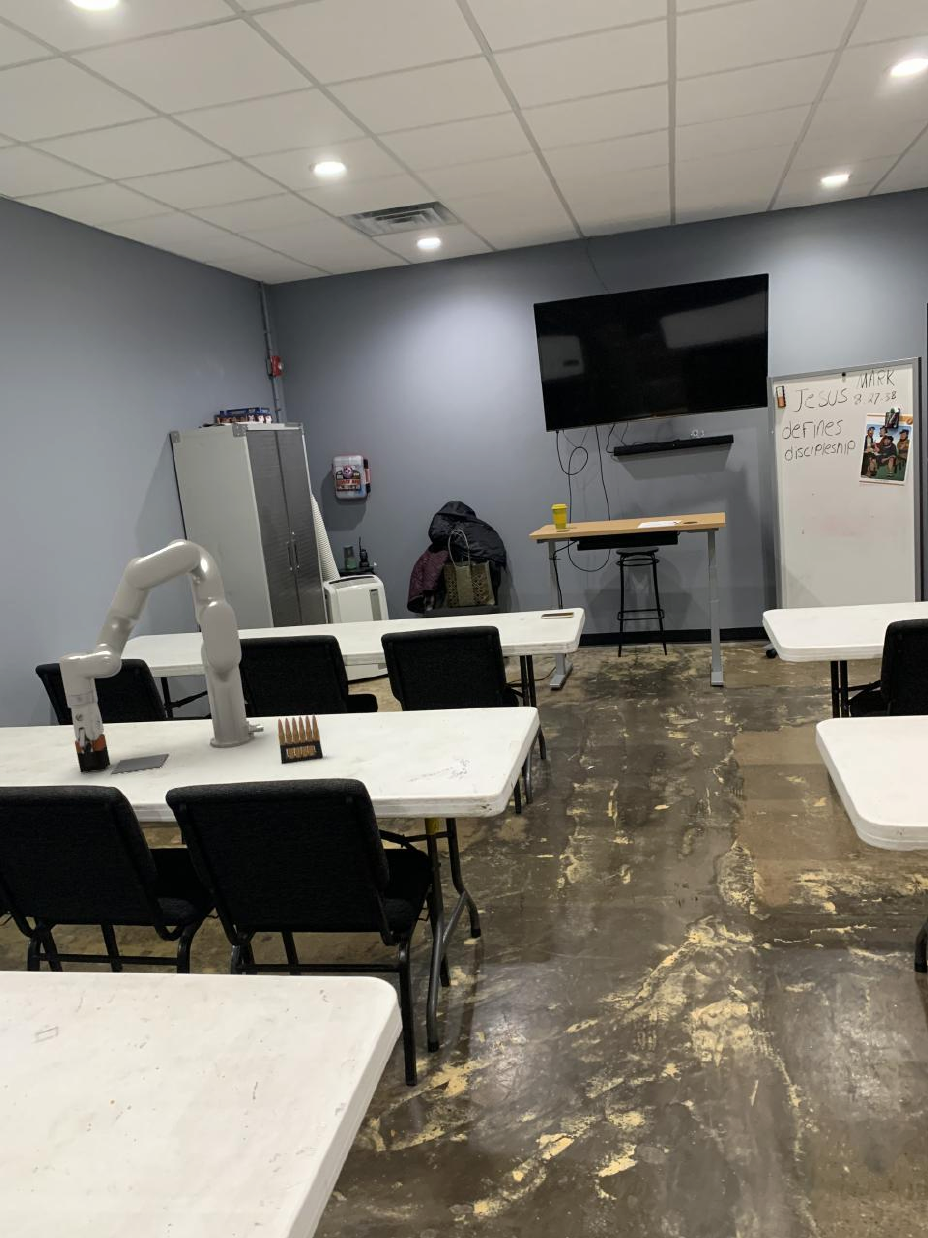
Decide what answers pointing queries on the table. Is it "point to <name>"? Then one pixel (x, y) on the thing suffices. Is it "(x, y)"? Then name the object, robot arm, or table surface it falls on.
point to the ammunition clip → (299, 741)
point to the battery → (101, 755)
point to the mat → (140, 763)
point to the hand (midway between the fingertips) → (94, 762)
